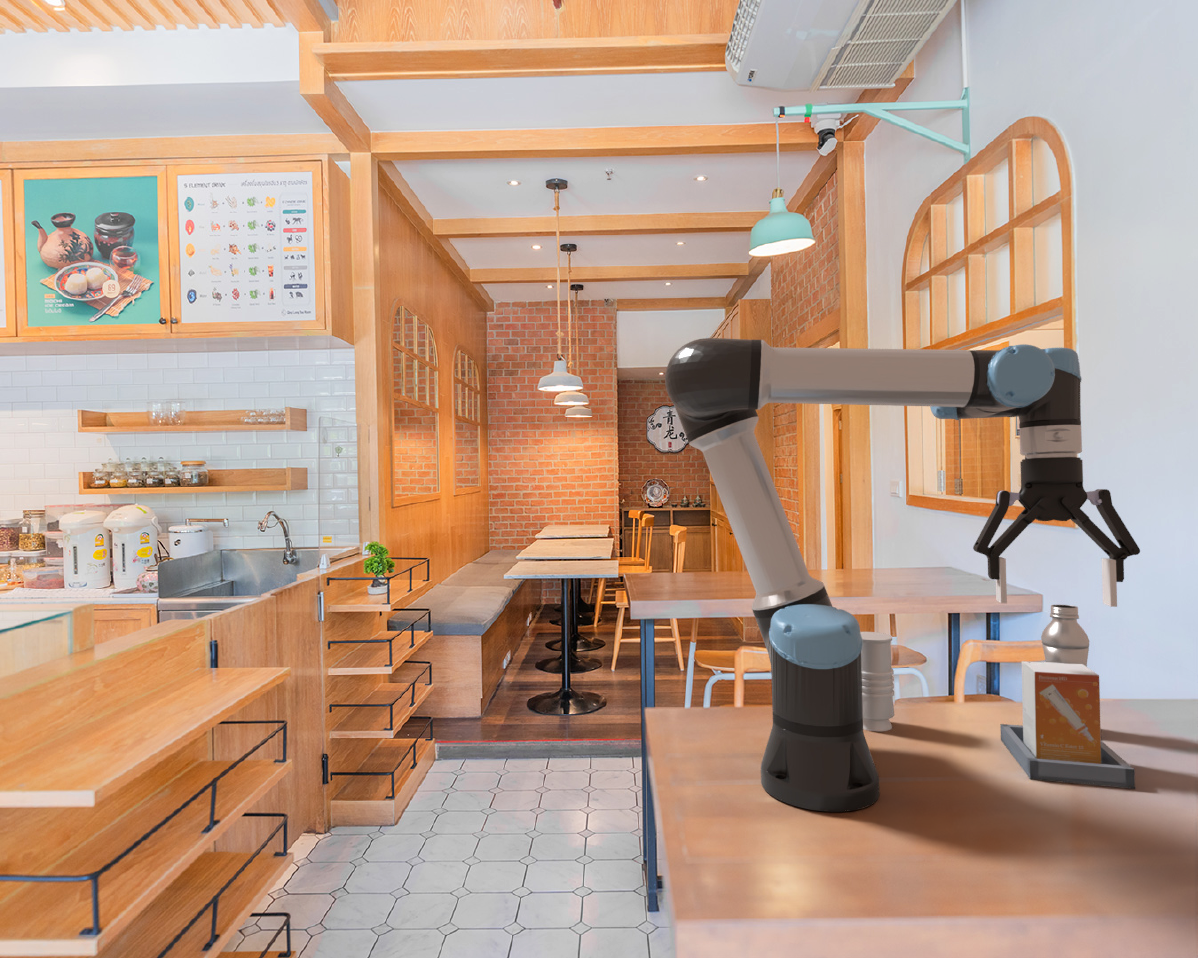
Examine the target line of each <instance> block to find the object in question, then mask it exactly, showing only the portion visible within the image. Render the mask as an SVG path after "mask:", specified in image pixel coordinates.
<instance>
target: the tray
mask: <svg viewBox="0 0 1198 958" xmlns="http://www.w3.org/2000/svg"><path fill="white" fill-rule="evenodd" d="M999 726H1000V727H999V728H1000V741H1001V742H1002V744H1003V745H1004V746H1005V748H1006V749H1007V750H1008V752H1009V753H1010V754H1011V756H1013V758H1014V759H1015V761H1016V762H1017V764H1018V765H1019V766H1020V767H1021V770H1023V771H1024V773H1025V774H1026V775H1027V777H1028V778H1029V779H1030V780H1033V781H1034V780H1036V781H1045V782H1058V783H1068V784H1080V785H1091V786H1102V787H1111V788H1112V787H1113V788H1123V789H1124V788H1125V789H1136V781H1135V780H1136V777H1135V775H1136V774H1135V768H1133V766H1131V765H1130V764H1129V763H1128V762H1126V760H1124V759H1123V758H1122V757H1121V756H1120V755H1119V754H1117V752H1115V751H1114V750H1113V749H1111V747H1109V746H1108V745H1107V744H1106V743H1105V742H1103V741H1102V740H1101V764H1095V763H1083V762H1071V761H1059V760H1047V759H1036V758H1035V757H1034V756H1033V755H1032V753H1031V752H1030V751H1029V750H1028V749H1027V747H1026V746H1025V745H1024V740H1023V724H1022V725H1019V724H1009V723H1008V724H1007V723H1006V724H1004V723H1000V725H999Z"/></svg>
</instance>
